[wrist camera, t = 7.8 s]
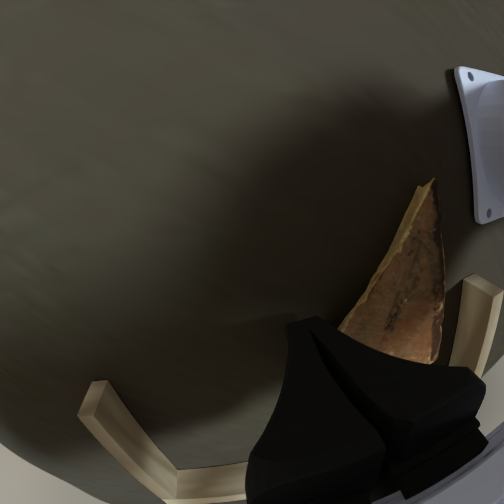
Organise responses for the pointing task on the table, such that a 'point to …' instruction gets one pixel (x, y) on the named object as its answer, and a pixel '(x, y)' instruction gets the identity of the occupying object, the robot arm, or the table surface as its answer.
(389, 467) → the robot arm
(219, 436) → the table surface
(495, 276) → the table surface
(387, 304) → the shard
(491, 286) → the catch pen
